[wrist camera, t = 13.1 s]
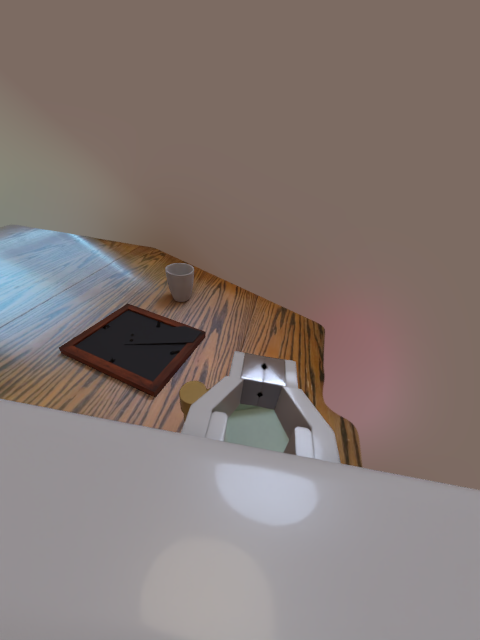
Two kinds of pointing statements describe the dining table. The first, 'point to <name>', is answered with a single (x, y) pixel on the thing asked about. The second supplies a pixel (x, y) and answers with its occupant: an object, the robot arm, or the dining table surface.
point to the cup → (180, 280)
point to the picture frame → (136, 347)
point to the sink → (256, 428)
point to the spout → (191, 394)
